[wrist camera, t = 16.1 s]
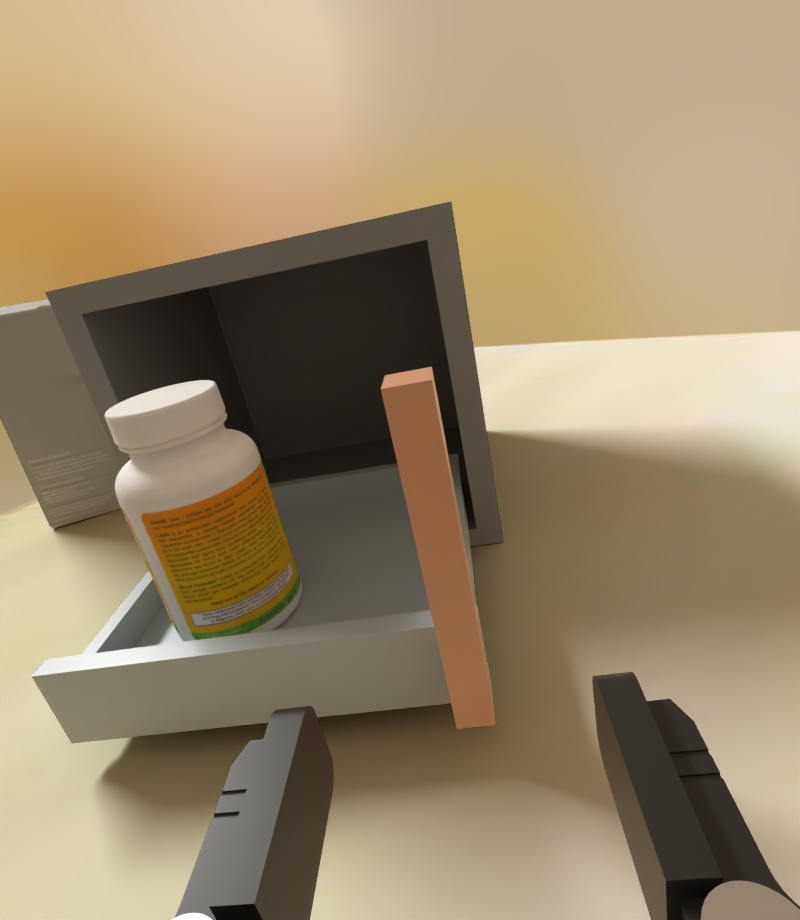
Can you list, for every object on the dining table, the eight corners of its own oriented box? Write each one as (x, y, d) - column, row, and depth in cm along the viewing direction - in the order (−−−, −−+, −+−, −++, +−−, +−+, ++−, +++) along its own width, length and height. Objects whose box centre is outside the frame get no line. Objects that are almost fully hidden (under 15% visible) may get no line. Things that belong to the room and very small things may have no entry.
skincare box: (67, 494, 49) (-21, 312, 43) (151, 468, 51) (78, 290, 45) (47, 534, 42) (-63, 321, 36) (147, 502, 43) (58, 294, 37)
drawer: (51, 773, 19) (-135, 482, 15) (219, 527, 34) (151, 347, 30) (496, 729, 17) (431, 379, 13) (467, 489, 32) (433, 289, 28)
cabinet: (174, 588, 31) (45, 292, 25) (257, 467, 45) (190, 262, 39) (503, 541, 28) (451, 201, 22) (480, 430, 43) (444, 205, 37)
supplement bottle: (330, 585, 24) (265, 371, 21) (235, 672, 21) (134, 427, 17) (249, 563, 28) (179, 373, 24) (154, 635, 24) (54, 422, 20)
